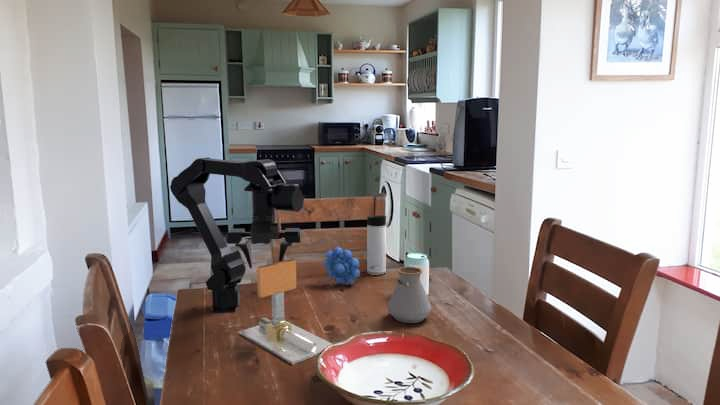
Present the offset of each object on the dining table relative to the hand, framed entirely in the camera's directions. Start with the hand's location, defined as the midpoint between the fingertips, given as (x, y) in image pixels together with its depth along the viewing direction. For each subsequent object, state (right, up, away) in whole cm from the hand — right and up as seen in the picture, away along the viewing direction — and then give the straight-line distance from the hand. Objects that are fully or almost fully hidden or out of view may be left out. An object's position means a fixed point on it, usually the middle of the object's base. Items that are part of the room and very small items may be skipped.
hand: (265, 267), depth 138 cm
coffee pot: (+36, -14, -4) cm, 39 cm away
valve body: (+7, -15, -14) cm, 22 cm away
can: (+41, -10, +18) cm, 46 cm away
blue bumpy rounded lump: (+19, -9, +27) cm, 34 cm away
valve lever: (+5, -11, -12) cm, 17 cm away
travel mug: (+30, -7, +39) cm, 50 cm away
